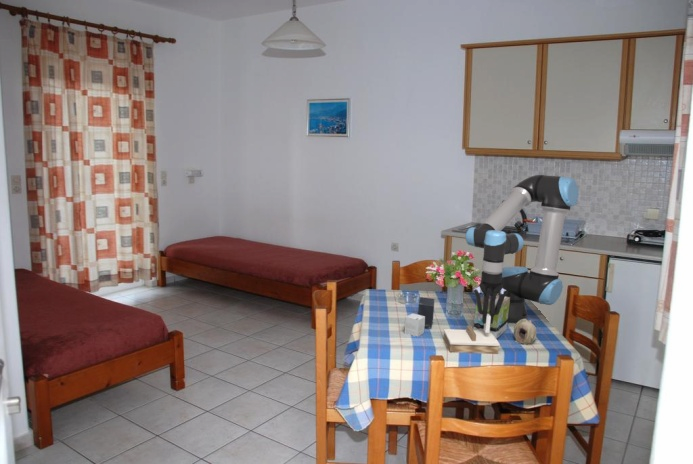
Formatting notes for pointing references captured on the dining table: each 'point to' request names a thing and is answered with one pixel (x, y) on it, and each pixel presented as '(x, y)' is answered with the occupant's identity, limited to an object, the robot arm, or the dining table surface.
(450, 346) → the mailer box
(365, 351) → the dining table surface
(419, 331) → the skincare box
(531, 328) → the twine ball
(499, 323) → the tea box
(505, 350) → the dining table surface
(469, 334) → the lid
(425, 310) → the small box
